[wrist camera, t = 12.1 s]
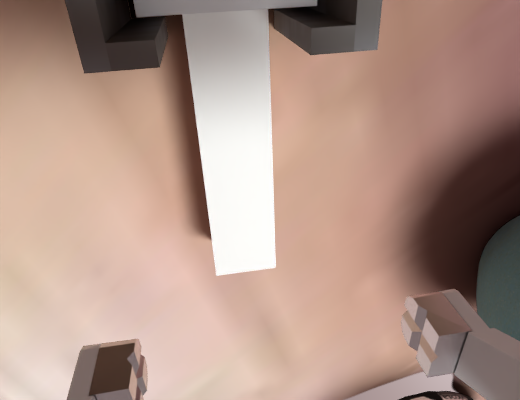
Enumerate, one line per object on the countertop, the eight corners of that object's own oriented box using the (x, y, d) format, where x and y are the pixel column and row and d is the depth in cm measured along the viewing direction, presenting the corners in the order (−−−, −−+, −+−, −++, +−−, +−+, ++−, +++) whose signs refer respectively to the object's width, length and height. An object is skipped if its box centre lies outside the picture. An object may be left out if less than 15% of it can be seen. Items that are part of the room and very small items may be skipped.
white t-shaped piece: (144, -21, 21) (130, -17, 16) (287, -29, 22) (317, -27, 16) (189, 243, 30) (189, 301, 24) (289, 230, 30) (309, 284, 25)
